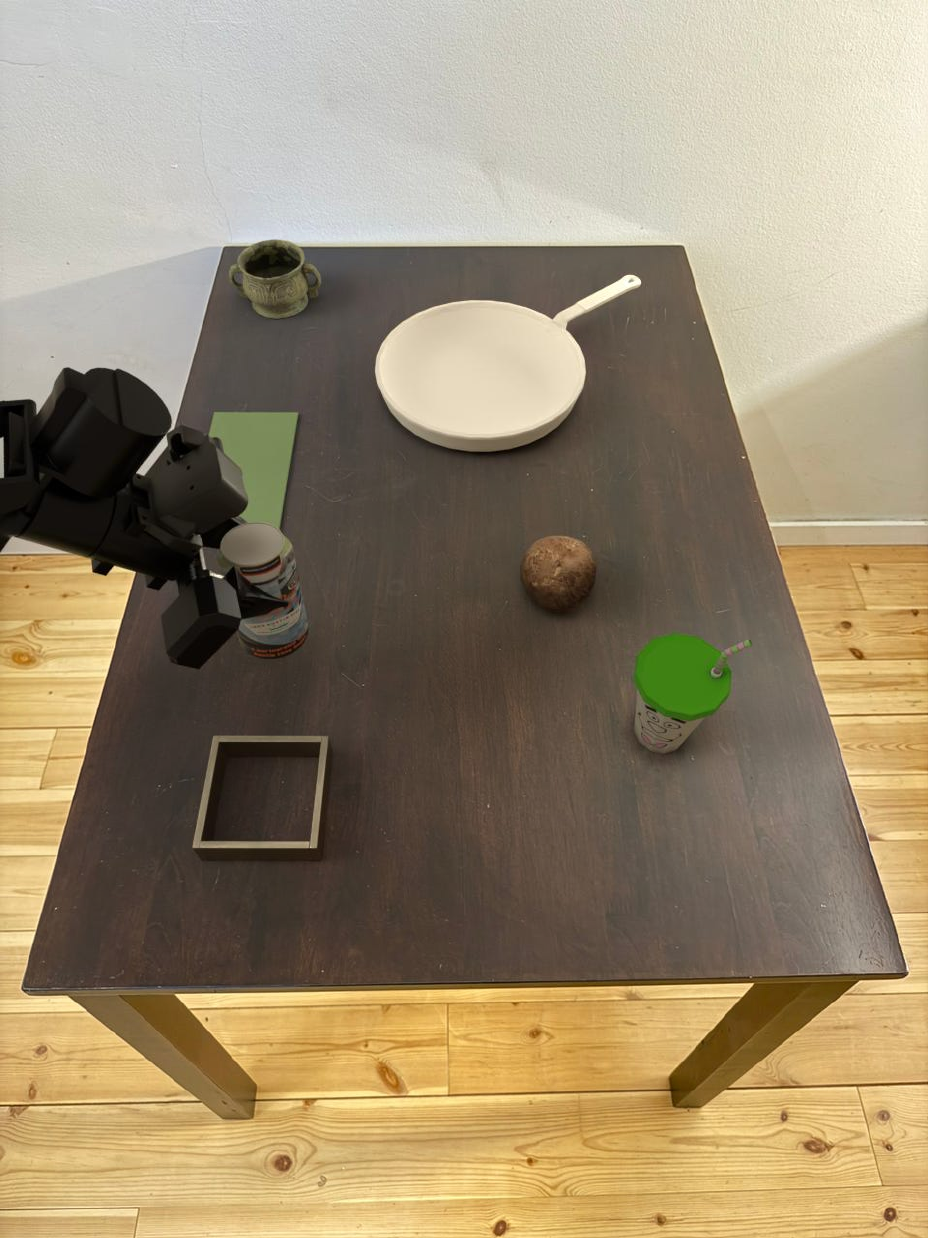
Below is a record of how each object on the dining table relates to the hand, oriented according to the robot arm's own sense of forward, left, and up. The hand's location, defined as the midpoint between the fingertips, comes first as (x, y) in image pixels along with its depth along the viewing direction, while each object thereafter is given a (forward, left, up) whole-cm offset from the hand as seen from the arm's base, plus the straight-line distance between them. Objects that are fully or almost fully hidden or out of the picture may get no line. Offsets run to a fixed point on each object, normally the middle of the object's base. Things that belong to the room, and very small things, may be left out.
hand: (279, 577), depth 70 cm
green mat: (-9, +25, -13) cm, 30 cm away
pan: (+23, +44, -14) cm, 51 cm away
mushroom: (+25, +9, -14) cm, 29 cm away
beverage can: (-1, -1, -7) cm, 7 cm away
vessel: (-9, +57, -14) cm, 59 cm away
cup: (+33, -7, -14) cm, 37 cm away
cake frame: (-1, -14, -13) cm, 20 cm away
